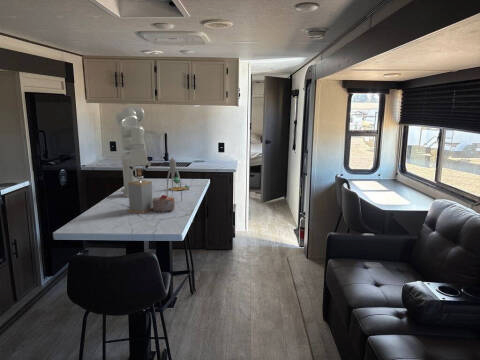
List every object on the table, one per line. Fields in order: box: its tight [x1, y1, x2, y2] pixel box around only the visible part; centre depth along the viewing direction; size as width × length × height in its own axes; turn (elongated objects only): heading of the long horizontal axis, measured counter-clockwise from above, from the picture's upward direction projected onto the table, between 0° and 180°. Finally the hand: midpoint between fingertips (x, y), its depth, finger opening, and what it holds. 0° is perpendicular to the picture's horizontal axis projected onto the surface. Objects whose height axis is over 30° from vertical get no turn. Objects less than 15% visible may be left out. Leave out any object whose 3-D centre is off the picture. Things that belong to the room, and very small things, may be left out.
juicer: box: [166, 157, 183, 201], centre depth 245 cm, size 10×9×30 cm
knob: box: [135, 168, 145, 183], centre depth 223 cm, size 8×8×25 cm
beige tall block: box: [126, 179, 153, 215], centre depth 224 cm, size 12×12×18 cm
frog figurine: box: [168, 173, 191, 191], centre depth 280 cm, size 10×18×15 cm, turn 80°
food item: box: [152, 194, 176, 213], centre depth 224 cm, size 14×8×10 cm, turn 98°
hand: (139, 176), depth 222 cm, fingers closed on knob, 4 cm apart
